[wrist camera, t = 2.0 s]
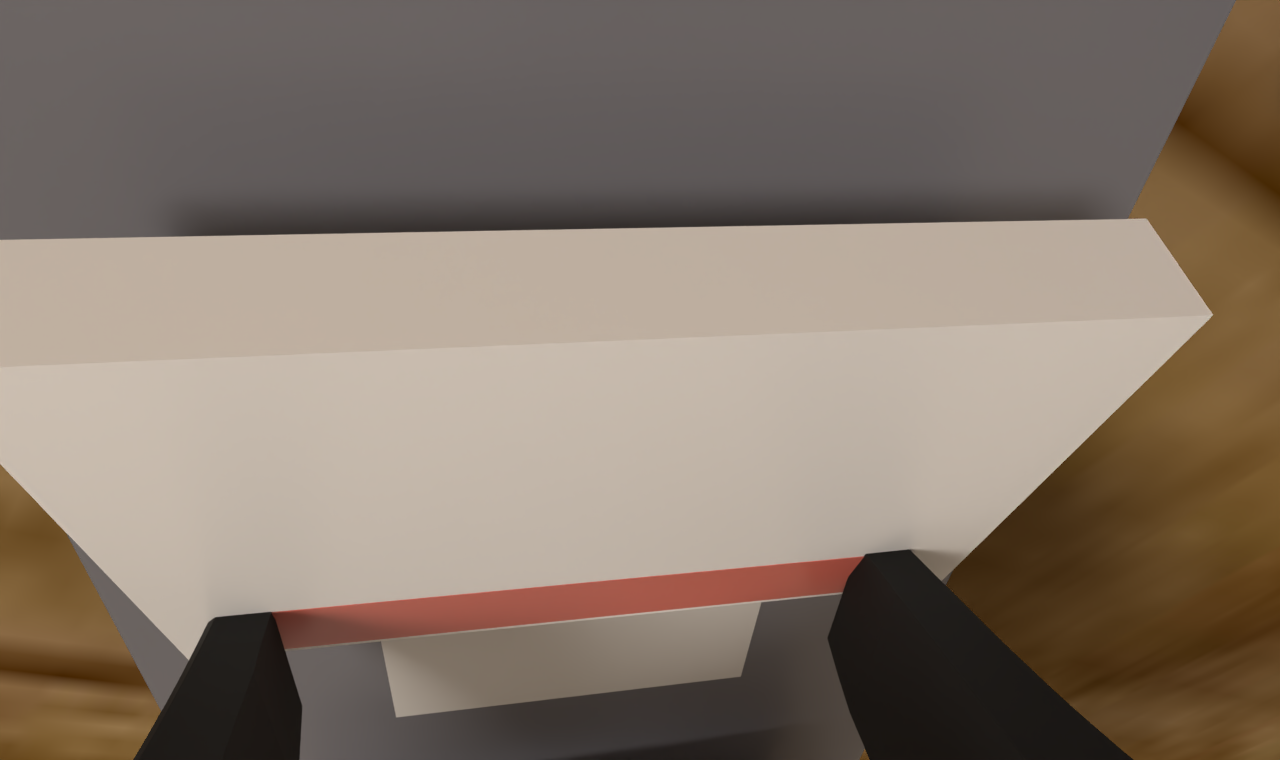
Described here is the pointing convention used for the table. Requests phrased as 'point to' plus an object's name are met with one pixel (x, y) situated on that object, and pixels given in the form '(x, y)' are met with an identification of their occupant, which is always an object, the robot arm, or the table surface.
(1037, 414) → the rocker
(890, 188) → the rocker switch panel
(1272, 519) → the table surface
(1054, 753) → the robot arm
